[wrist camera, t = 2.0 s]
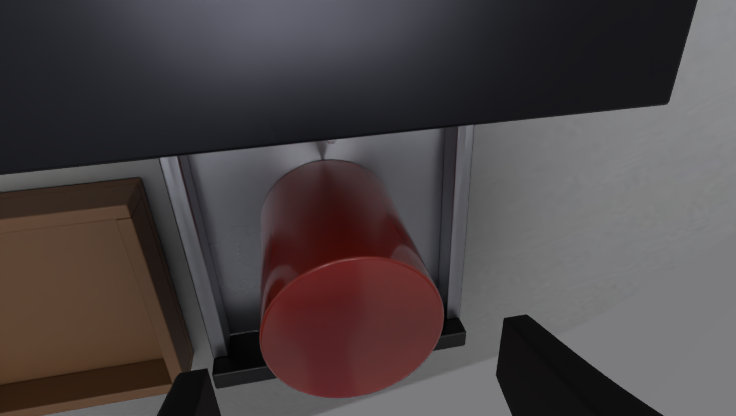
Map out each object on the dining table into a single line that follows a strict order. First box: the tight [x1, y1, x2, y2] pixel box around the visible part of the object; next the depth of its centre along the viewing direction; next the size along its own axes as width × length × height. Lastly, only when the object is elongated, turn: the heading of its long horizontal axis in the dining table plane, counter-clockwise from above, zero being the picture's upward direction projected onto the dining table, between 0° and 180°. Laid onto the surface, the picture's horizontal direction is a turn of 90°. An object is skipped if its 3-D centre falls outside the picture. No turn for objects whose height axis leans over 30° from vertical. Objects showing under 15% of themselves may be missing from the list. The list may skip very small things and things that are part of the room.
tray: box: [0, 178, 194, 416], centre depth 17 cm, size 8×8×2 cm
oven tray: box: [158, 125, 474, 389], centre depth 16 cm, size 16×10×3 cm, turn 2°
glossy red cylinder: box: [259, 160, 444, 398], centre depth 15 cm, size 5×5×6 cm
